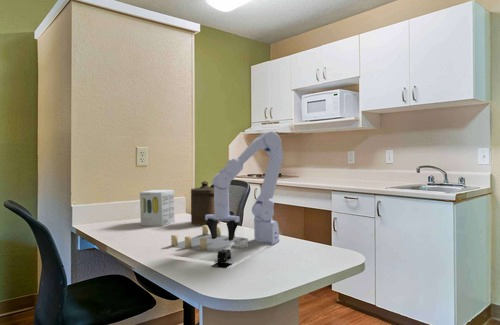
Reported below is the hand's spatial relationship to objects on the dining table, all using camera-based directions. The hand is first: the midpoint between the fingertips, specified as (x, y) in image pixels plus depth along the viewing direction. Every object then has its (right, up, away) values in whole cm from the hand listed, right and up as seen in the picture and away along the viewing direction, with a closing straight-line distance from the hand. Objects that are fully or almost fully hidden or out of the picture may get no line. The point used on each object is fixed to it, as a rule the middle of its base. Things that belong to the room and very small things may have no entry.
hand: (222, 239), depth 135 cm
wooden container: (-13, -2, +50) cm, 52 cm away
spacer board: (-6, -3, +4) cm, 8 cm away
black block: (+2, -4, -21) cm, 22 cm away
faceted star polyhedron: (+7, -3, -4) cm, 9 cm away
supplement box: (-39, -3, +52) cm, 64 cm away
